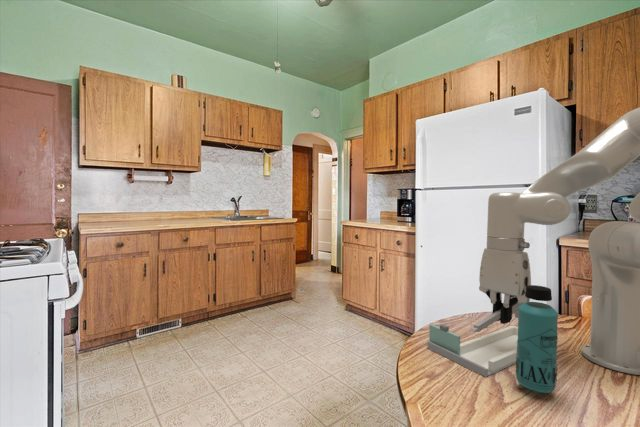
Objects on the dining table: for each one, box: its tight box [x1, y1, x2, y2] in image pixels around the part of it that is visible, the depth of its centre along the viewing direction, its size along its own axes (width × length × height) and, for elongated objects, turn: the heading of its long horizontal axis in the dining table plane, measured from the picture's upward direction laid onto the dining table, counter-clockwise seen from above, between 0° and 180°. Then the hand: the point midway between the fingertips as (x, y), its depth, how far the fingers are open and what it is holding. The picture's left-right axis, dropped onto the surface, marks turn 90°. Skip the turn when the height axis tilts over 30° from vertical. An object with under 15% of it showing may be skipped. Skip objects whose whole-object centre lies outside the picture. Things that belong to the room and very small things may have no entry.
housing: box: [426, 325, 518, 378], centre depth 78 cm, size 15×26×2 cm, turn 120°
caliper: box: [470, 296, 523, 333], centre depth 74 cm, size 20×1×6 cm, turn 120°
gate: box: [428, 323, 461, 356], centre depth 75 cm, size 8×1×6 cm, turn 30°
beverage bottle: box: [515, 284, 559, 394], centre depth 59 cm, size 6×7×20 cm
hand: (501, 321), depth 75 cm, fingers closed on caliper, 1 cm apart
